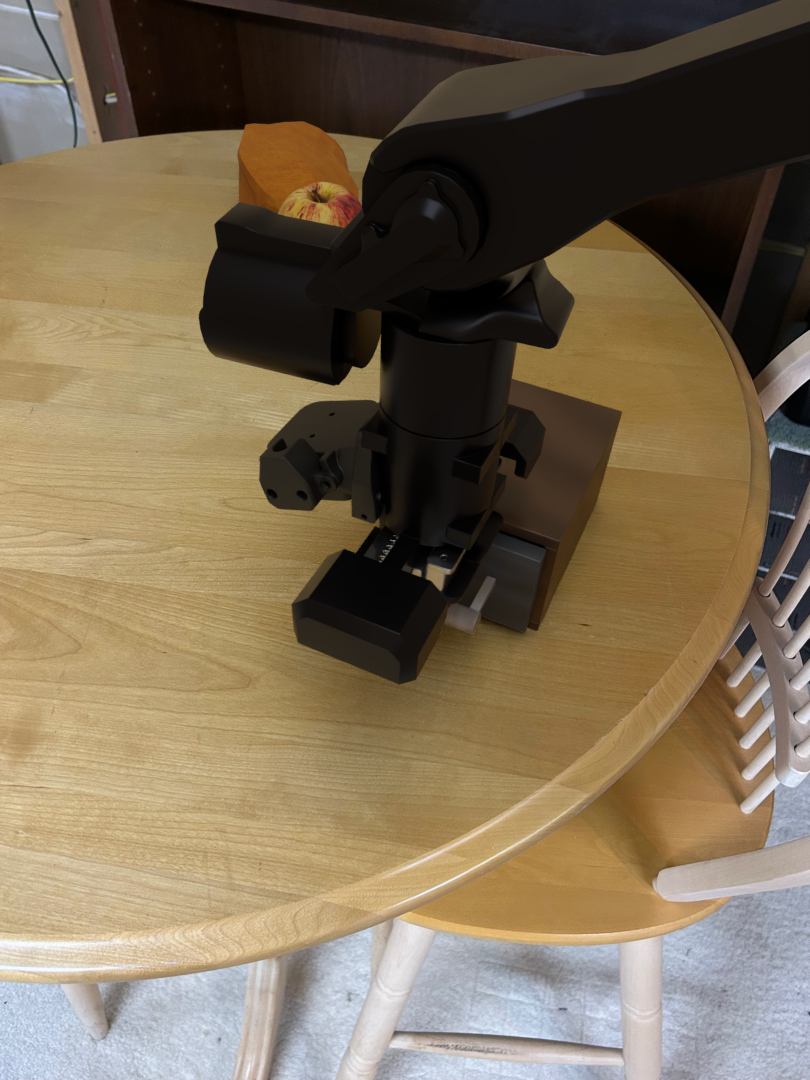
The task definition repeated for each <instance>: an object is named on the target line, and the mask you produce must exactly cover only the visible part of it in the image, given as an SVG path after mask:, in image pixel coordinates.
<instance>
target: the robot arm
mask: <svg viewBox="0 0 810 1080" xmlns="http://www.w3.org/2000/svg"><path fill="white" fill-rule="evenodd" d="M809 159H810V0H779V1H778V0H777V1H775V2H772V3H770V4H767V5H764V6H761V7H759V8H755V9H753V10H750V11H747V12H744V13H742V14H739V15H736V16H733V17H731V18H727V19H725V20H721V21H719V22H716V23H713V24H709V25H707V26H704V27H701V28H698V29H696V30H693V31H691V32H688V33H685V34H682V35H680V36H676V37H673V38H671V39H667V40H664V41H661V42H660V43H656V44H654V45H651V46H648V47H645V48H641V49H637V50H631V51H623V52H619V53H611V54H606V55H546V56H539V57H534V58H527V59H522V60H515V61H509V62H503V63H497V64H491V65H484V66H478V67H472V68H468V69H464V70H461V71H457V72H456V73H453V74H452V75H451V76H449V77H448V78H446V79H444V80H443V81H441V82H439V83H438V84H436V86H435V87H434V88H432V89H431V90H430V92H428V93H427V95H426V96H425V97H424V98H423V99H422V100H421V101H420V102H419V103H418V104H417V105H416V106H415V107H414V108H413V109H411V111H410V112H409V113H407V115H406V116H405V117H404V118H403V119H402V120H401V121H400V122H399V123H397V125H396V126H395V127H394V128H393V129H392V130H391V131H390V132H389V133H388V134H387V135H386V136H385V137H384V138H383V139H381V142H379V144H378V145H376V147H375V148H374V149H373V150H372V151H371V153H370V155H369V160H368V162H367V166H366V168H365V171H364V174H363V177H362V180H361V205H362V209H361V210H360V211H359V212H358V213H357V214H356V216H355V217H354V218H353V219H352V220H351V221H350V222H349V223H348V225H347V226H346V227H345V228H344V227H339V226H334V225H329V224H324V223H319V222H314V221H309V220H304V219H299V218H294V217H288V216H284V215H280V214H278V213H275V212H273V211H271V210H269V209H267V208H264V207H261V206H256V205H251V204H246V203H241V202H239V201H238V202H237V203H236V204H235V205H234V206H233V207H231V208H230V209H229V210H228V211H227V212H226V213H225V214H223V215H222V216H221V217H220V218H219V219H217V221H216V222H214V224H213V227H214V231H215V232H214V233H215V234H214V235H215V240H216V247H217V248H216V249H215V250H214V253H213V257H212V259H211V260H210V263H209V265H208V269H207V274H206V277H205V281H204V286H203V287H204V289H203V297H202V307H201V308H200V310H199V311H198V322H199V323H198V324H199V330H200V334H201V337H202V340H203V343H204V345H205V346H206V348H207V350H208V352H209V353H210V354H211V355H213V356H214V358H218V359H222V360H225V361H229V362H234V363H238V364H242V365H247V366H250V367H254V368H259V369H262V370H266V371H270V372H275V373H279V374H283V375H287V376H292V377H296V378H300V379H305V380H308V381H311V382H316V383H320V384H324V385H328V386H333V387H335V386H339V385H341V383H342V382H343V381H344V380H345V379H346V378H347V377H348V375H349V374H350V372H351V371H352V368H357V369H361V370H363V369H365V368H366V367H367V366H368V365H369V364H370V362H372V359H373V357H374V356H375V354H376V351H377V348H378V345H379V342H380V353H379V354H380V355H379V356H380V358H379V401H378V402H377V401H375V400H373V399H347V400H346V399H345V400H343V399H342V400H318V401H314V402H311V403H309V404H306V405H305V406H303V407H302V408H300V409H299V410H297V411H296V413H294V415H293V416H292V417H291V418H290V419H289V420H288V421H287V423H285V424H284V425H283V426H282V428H280V430H279V431H278V432H276V434H275V435H274V436H273V437H272V438H271V439H270V440H269V441H268V443H267V445H266V449H265V450H264V451H263V452H262V453H261V455H259V458H258V461H259V466H258V469H259V471H258V482H259V485H260V487H261V489H262V491H263V493H264V496H265V498H266V500H267V502H268V503H269V504H270V505H271V506H272V507H274V508H276V509H278V510H285V511H300V512H301V511H304V512H313V511H314V510H315V509H316V507H317V506H318V505H319V504H320V503H321V501H332V502H333V501H335V502H347V501H351V517H352V518H355V519H358V520H360V521H363V522H366V523H369V524H372V525H374V524H376V522H377V521H379V519H381V520H384V521H386V524H385V526H384V527H383V529H382V528H380V527H379V526H376V525H375V526H373V528H372V529H371V531H370V532H369V533H368V535H367V537H366V538H365V539H364V541H363V542H362V543H361V544H360V546H359V547H358V549H357V550H356V552H354V551H352V550H349V549H346V548H342V549H340V550H338V551H335V552H333V553H330V554H328V555H327V556H326V557H325V558H324V560H323V561H322V562H321V564H320V566H318V567H317V568H316V571H315V572H314V573H313V575H312V576H311V577H310V578H309V580H308V581H307V582H306V584H305V585H304V587H302V589H301V590H300V591H299V593H298V595H297V596H296V597H295V598H294V600H293V601H292V603H291V607H290V608H291V616H292V626H293V632H294V635H295V638H296V641H297V644H299V645H302V646H304V647H306V648H309V649H310V650H314V651H316V652H319V653H321V654H323V655H326V656H328V657H331V658H333V659H336V660H338V661H340V662H343V663H345V664H348V665H351V666H352V667H355V668H357V669H359V670H362V671H364V672H367V673H369V674H372V675H374V676H377V677H380V678H381V679H383V680H386V681H389V682H391V683H394V684H397V685H398V686H399V685H403V684H407V683H411V682H414V681H417V679H418V678H419V675H420V674H421V672H422V670H423V669H424V666H425V665H426V663H427V661H428V660H429V657H430V655H431V654H432V652H433V650H434V649H435V646H436V644H437V643H438V641H439V639H440V637H441V633H442V631H443V628H444V625H445V624H444V622H445V620H446V617H447V610H448V608H449V607H450V606H451V605H452V604H455V603H458V602H459V601H460V600H461V599H462V597H463V596H464V594H465V592H466V590H467V588H468V587H469V585H470V583H471V581H472V579H473V578H474V576H475V574H476V572H477V570H478V568H479V567H480V563H479V562H480V561H481V560H482V559H483V557H484V556H485V555H486V553H487V552H488V550H489V548H490V547H491V545H492V543H493V541H494V539H495V538H496V536H497V534H498V532H499V530H500V529H501V527H502V525H503V522H504V518H503V516H502V515H501V514H500V513H499V512H497V511H494V510H493V509H494V507H495V506H496V504H497V502H498V500H499V499H500V497H501V495H502V493H503V492H504V489H505V483H506V477H507V475H504V474H501V473H498V471H499V469H500V467H501V464H502V459H501V458H499V456H502V457H505V458H509V459H512V460H515V461H516V466H515V471H514V474H515V475H516V476H517V477H520V478H523V479H526V480H527V478H528V476H529V474H530V472H531V471H532V469H533V467H534V465H535V463H536V462H537V460H538V458H539V456H540V454H541V450H542V445H543V440H544V435H545V431H546V428H545V427H544V425H543V424H542V423H541V421H540V420H539V419H538V417H537V416H536V414H535V413H534V412H533V411H531V410H528V409H524V408H521V407H518V406H514V405H511V404H508V399H509V393H510V387H511V381H512V379H513V374H514V367H515V361H516V355H517V348H518V344H522V345H527V346H531V347H536V348H539V349H544V350H552V349H554V348H556V347H557V346H558V344H559V343H560V339H561V337H562V335H563V332H564V330H565V327H566V325H567V324H568V321H569V318H570V315H571V314H572V311H573V309H574V306H575V303H576V302H575V301H576V299H575V297H574V295H573V294H572V293H571V291H569V289H567V287H565V284H563V283H562V282H561V281H560V280H558V278H556V277H555V276H554V275H553V273H551V271H550V269H549V268H548V264H547V262H546V260H545V259H546V258H548V257H551V255H553V254H555V253H556V252H558V251H559V250H561V249H563V248H565V247H566V246H567V245H569V244H571V243H572V242H574V241H575V240H577V239H578V238H580V237H582V236H583V235H585V234H587V233H588V232H589V231H591V230H593V229H594V228H596V227H598V226H600V224H602V223H604V222H606V220H607V221H608V220H609V219H610V218H612V217H614V216H616V215H618V214H621V213H624V212H625V211H627V210H630V209H632V208H634V207H637V206H639V205H641V204H643V203H646V202H649V201H651V200H655V199H658V198H663V197H666V196H671V195H674V194H678V193H681V192H685V191H689V190H693V189H698V188H701V187H704V186H708V185H712V184H717V183H720V182H724V181H728V180H732V179H736V178H739V177H744V176H747V175H750V174H755V173H760V172H763V171H766V170H771V169H775V168H779V167H782V166H787V165H790V164H794V163H797V162H802V161H805V160H809Z"/></svg>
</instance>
